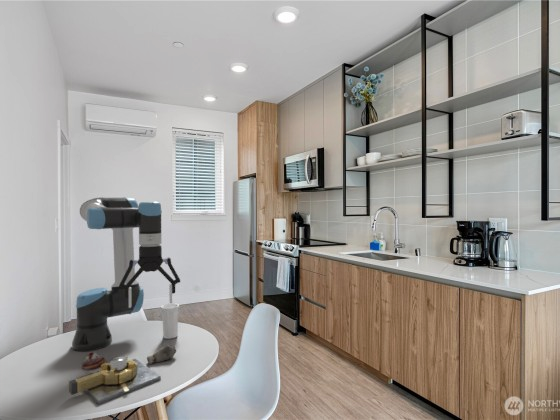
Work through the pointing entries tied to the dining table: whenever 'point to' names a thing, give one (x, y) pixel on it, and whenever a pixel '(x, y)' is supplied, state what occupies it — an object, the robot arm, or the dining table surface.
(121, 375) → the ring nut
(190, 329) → the dining table surface
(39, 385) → the dining table surface
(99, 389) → the base plate
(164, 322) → the cup
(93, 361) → the pastry
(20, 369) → the dining table surface
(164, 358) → the stone
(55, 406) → the dining table surface
